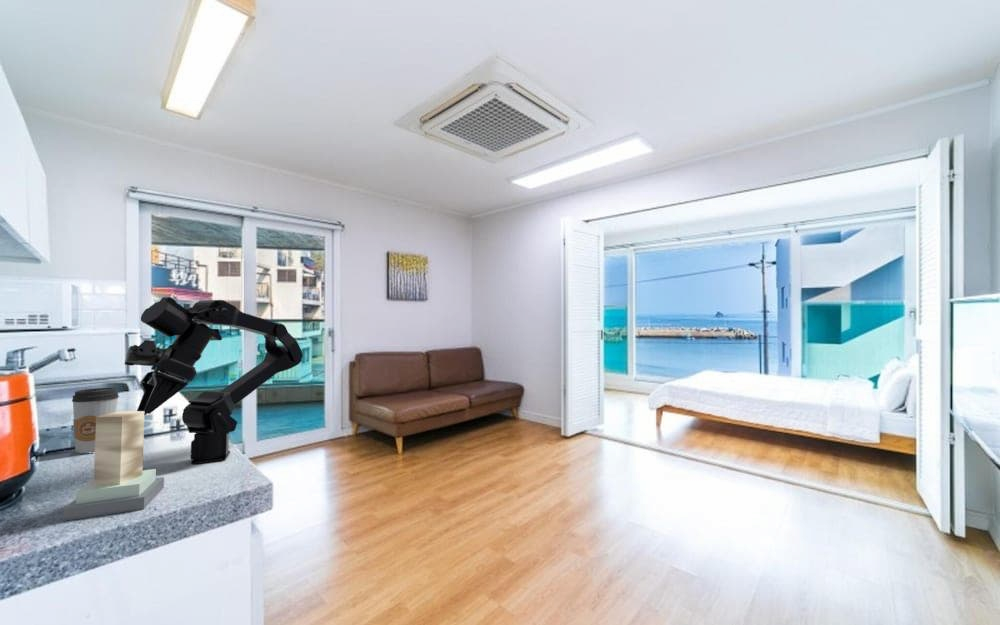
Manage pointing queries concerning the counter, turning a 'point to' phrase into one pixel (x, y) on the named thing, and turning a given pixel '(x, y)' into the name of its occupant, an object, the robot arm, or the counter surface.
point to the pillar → (118, 447)
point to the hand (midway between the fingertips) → (141, 415)
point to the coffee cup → (91, 414)
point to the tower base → (113, 504)
